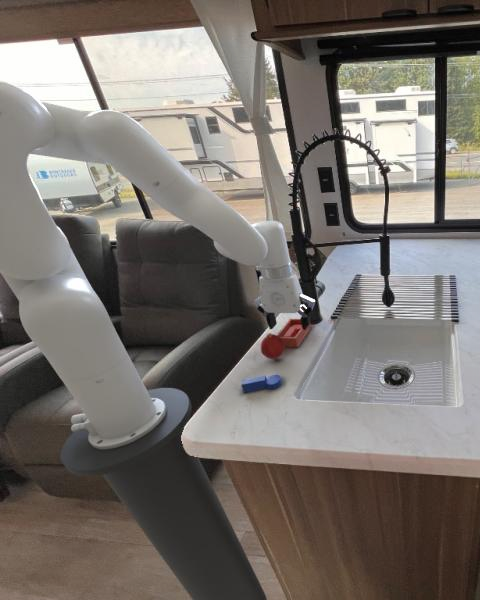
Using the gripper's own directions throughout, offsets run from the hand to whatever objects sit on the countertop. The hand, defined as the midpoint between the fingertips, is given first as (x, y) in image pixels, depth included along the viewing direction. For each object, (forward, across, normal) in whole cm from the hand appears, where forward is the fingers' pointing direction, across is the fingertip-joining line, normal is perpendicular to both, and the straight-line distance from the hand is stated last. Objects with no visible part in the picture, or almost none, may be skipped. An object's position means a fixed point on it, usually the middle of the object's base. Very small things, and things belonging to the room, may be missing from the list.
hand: (289, 327), depth 88 cm
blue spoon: (+4, +1, -19) cm, 20 cm away
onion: (+4, -1, -9) cm, 10 cm away
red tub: (+4, 0, +2) cm, 5 cm away
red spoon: (+4, 0, +1) cm, 4 cm away
